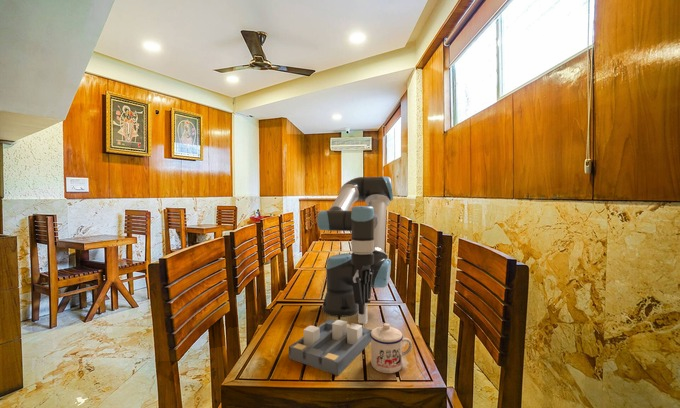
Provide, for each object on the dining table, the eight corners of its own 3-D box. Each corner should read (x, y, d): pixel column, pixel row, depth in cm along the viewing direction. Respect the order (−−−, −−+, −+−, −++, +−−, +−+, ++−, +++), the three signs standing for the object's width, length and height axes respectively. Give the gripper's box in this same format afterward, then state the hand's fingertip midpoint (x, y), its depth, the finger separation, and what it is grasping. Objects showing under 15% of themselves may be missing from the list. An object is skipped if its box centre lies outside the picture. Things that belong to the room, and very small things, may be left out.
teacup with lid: (374, 375, 78) (374, 332, 77) (367, 357, 87) (367, 318, 86) (417, 372, 79) (417, 330, 79) (406, 354, 88) (406, 316, 88)
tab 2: (338, 334, 98) (337, 319, 98) (347, 336, 96) (347, 321, 96) (332, 338, 95) (332, 323, 95) (341, 341, 93) (341, 326, 93)
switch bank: (328, 329, 105) (328, 318, 105) (371, 340, 97) (371, 329, 97) (288, 358, 86) (288, 346, 86) (338, 375, 78) (338, 362, 78)
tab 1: (310, 340, 94) (310, 325, 94) (319, 343, 92) (319, 327, 92) (303, 345, 91) (303, 329, 90) (313, 348, 89) (313, 332, 89)
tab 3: (352, 338, 95) (352, 323, 95) (362, 340, 93) (362, 325, 93) (347, 343, 92) (347, 327, 92) (357, 345, 90) (357, 329, 90)
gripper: (361, 248, 105) (361, 313, 105) (343, 254, 93) (343, 327, 94) (380, 250, 101) (380, 317, 101) (364, 256, 90) (364, 332, 90)
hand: (362, 322), depth 97 cm, fingers closed
